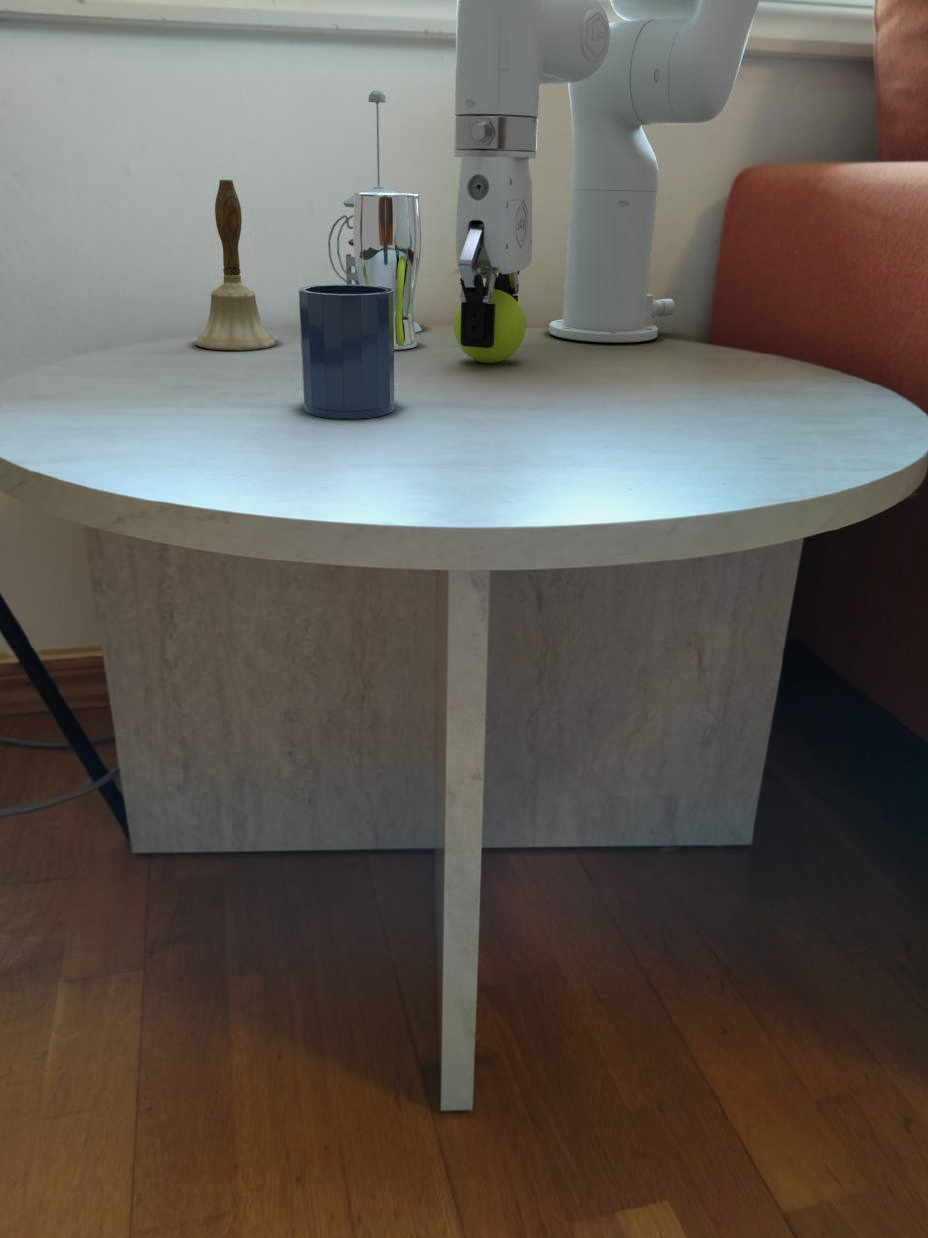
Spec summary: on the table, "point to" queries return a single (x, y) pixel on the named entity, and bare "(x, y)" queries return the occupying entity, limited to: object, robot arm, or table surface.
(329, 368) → the cup
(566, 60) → the robot arm
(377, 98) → the french press
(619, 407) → the table surface
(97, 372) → the table surface
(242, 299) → the hand bell
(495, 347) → the ball
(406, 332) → the beer glass
